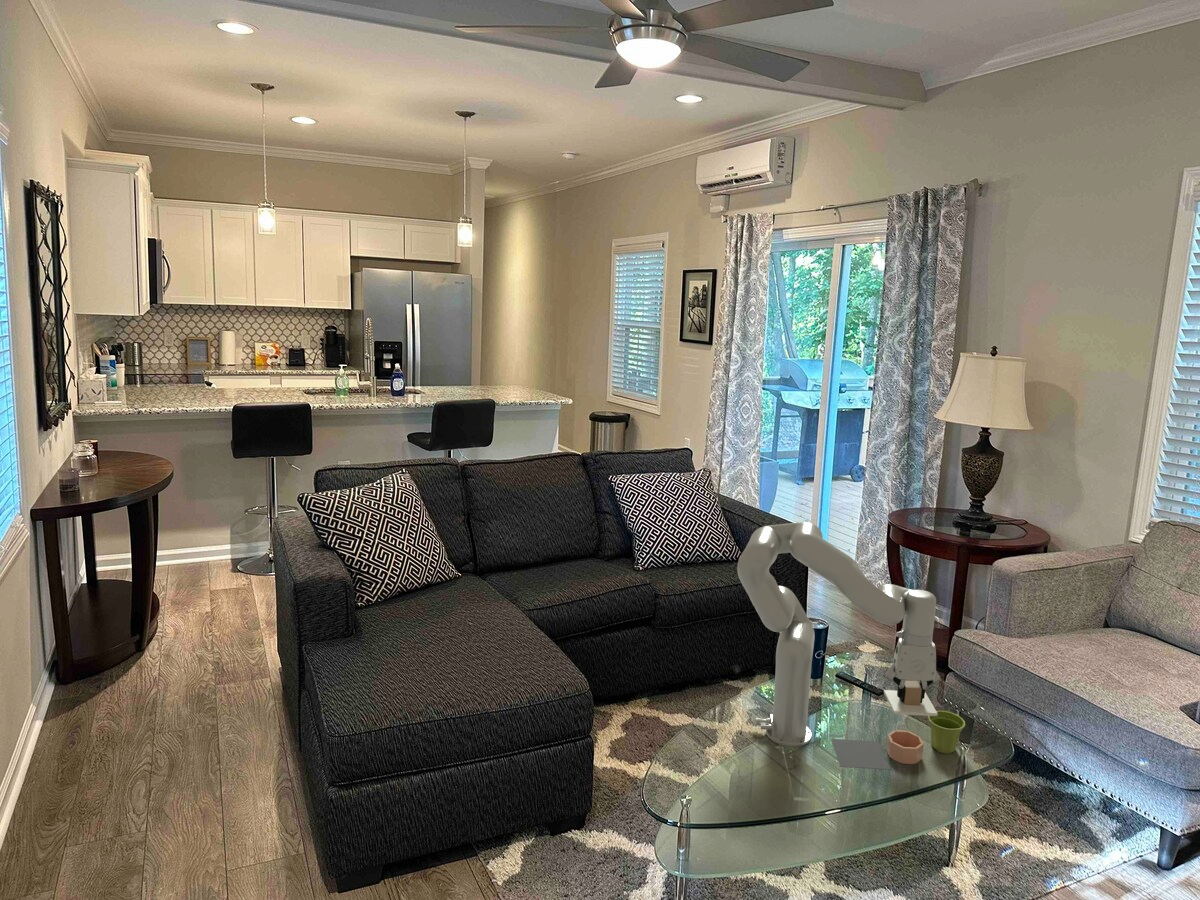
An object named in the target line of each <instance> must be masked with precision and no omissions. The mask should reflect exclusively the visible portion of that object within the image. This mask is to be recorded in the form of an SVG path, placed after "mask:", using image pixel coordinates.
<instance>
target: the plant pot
mask: <svg viewBox="0 0 1200 900" xmlns="http://www.w3.org/2000/svg"><path fill="white" fill-rule="evenodd" d="M936 712H937V713H938V715H937V716H927V718H928V721H929V724H930V740H931V741H930V743H931V744H930V745H931V747H932V748H933V749H934V750H936V751H938V752H939V753H942V754H947V755H948V754H951V753H954V752H955V751H956V749H957V745H958V741H959V738H960V735H961V733H962V731H963V729H964V728H965V726H966V721H965V720H964V719H963V718H962V717H961V716H960V715H958V714H956V713H953V712H950V711H946V710H936Z"/></svg>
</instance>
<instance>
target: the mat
mask: <svg viewBox="0 0 1200 900" xmlns="http://www.w3.org/2000/svg"><path fill="white" fill-rule="evenodd" d="M830 740H831V743H832V746H833V749H834V752H835V755H836V758H837V761H838V764H839V767H841V768H856V769H858V768H859V769H873V770H874V769H876V770H889V771H890V770H891V768H890V765H889V763H888V761H887V759H886V756H885V754H884V751H883V750H882V749H883V748H882V747H881V744H880V742H879V741H875V740H859V739H858V740H857V739H841V738H840V739H839V738H830Z"/></svg>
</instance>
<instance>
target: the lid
mask: <svg viewBox="0 0 1200 900" xmlns="http://www.w3.org/2000/svg"><path fill="white" fill-rule="evenodd" d="M919 683H920V682H919V681H917V680H906V682H905V685H904V688H905V698H904V702H901V700H900V698H899V697H898V696H897V690H893V689H892V690H891V689H883V694H884V696H885V698H886V700H887V703H888V704H889V706H890V709H891V710H892V713H893V714H894V715H906V716H907V715H908V716H926V717H928V716H937V715H938V713H937V712H936V711H937V710H936V708H935V706H934V705H933V703H932V701H931V700H930V698H929V696H928V694H927V693H926V692H925V696H924V699H922V703H920V701H921V692H922V688H921V686H920V685H919Z"/></svg>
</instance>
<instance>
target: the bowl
mask: <svg viewBox="0 0 1200 900" xmlns="http://www.w3.org/2000/svg"><path fill="white" fill-rule="evenodd" d="M924 744H925V743H924V741H923V740H922V737H921V736H920V735H918V734H915V733H914V732H911V731H909V730H902V729H901V730H897V729H894V730H893V731H891V732H889V733H887V740H886V748H885V750H886V753H887V755H888V756H889V757H888V758H891V760H894V761H897V762H898V763H901V764H907V765H916V764H918V763H919V762H921V760H923V753H924Z"/></svg>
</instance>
